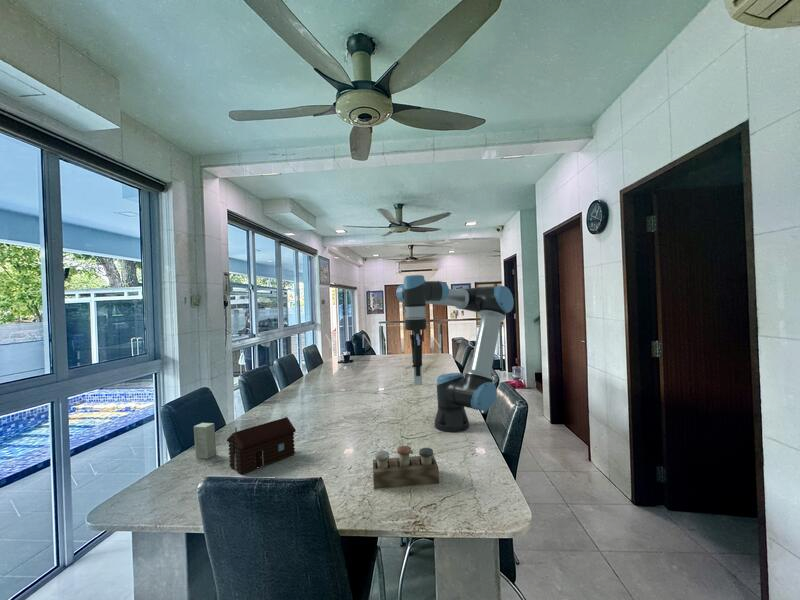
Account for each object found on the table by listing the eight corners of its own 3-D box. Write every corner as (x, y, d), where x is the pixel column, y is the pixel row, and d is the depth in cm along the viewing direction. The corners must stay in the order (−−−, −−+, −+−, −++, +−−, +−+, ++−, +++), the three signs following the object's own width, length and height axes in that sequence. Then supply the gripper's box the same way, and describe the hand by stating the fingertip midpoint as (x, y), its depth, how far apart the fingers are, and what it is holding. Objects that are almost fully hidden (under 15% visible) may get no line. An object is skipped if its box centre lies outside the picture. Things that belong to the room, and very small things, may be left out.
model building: (242, 476, 122) (240, 431, 122) (227, 466, 129) (226, 424, 129) (296, 455, 137) (295, 415, 137) (280, 447, 145) (279, 410, 145)
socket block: (433, 469, 120) (433, 454, 120) (439, 483, 112) (438, 467, 112) (373, 474, 119) (372, 459, 119) (373, 488, 110) (373, 472, 110)
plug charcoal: (432, 471, 118) (431, 447, 118) (435, 478, 114) (434, 452, 114) (419, 472, 118) (418, 448, 118) (421, 479, 113) (420, 454, 113)
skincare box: (216, 454, 140) (215, 423, 140) (207, 459, 136) (206, 427, 136) (203, 453, 142) (202, 422, 142) (194, 458, 138) (193, 426, 138)
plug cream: (389, 475, 117) (388, 450, 117) (390, 481, 113) (389, 456, 113) (376, 476, 117) (375, 451, 117) (376, 483, 112) (375, 457, 112)
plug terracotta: (411, 470, 118) (410, 445, 118) (412, 476, 113) (411, 450, 113) (397, 471, 117) (396, 446, 117) (398, 477, 113) (397, 452, 113)
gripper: (403, 318, 136) (405, 381, 136) (406, 319, 123) (409, 389, 123) (423, 317, 137) (425, 380, 137) (428, 319, 124) (431, 388, 124)
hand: (418, 384), depth 130 cm, fingers closed
